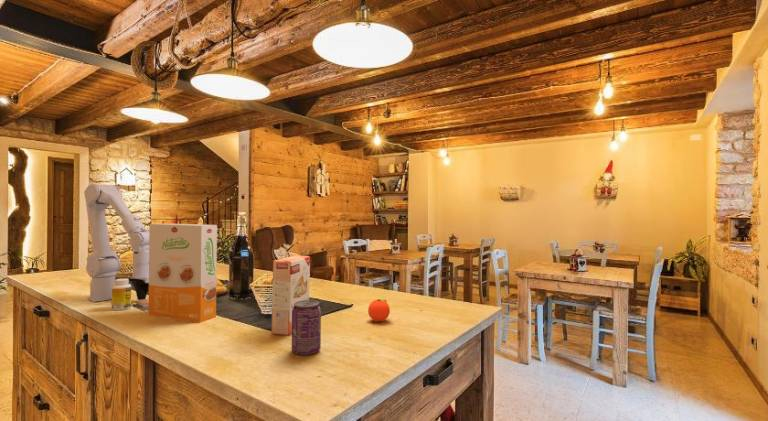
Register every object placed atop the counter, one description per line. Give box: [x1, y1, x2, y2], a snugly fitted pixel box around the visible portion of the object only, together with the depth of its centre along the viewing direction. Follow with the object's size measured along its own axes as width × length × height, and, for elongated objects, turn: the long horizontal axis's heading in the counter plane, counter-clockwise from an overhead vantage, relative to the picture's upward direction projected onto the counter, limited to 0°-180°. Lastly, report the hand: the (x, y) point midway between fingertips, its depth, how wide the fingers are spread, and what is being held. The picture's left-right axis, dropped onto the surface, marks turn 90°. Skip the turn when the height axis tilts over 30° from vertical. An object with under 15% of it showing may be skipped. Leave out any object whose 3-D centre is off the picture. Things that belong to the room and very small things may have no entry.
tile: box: [136, 298, 149, 308], centre depth 136 cm, size 2×6×6 cm
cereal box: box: [148, 223, 218, 323], centre depth 123 cm, size 22×6×30 cm, turn 69°
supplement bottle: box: [111, 278, 132, 311], centre depth 131 cm, size 6×6×10 cm
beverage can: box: [291, 299, 322, 356], centre depth 94 cm, size 7×7×12 cm
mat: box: [131, 303, 149, 311], centre depth 136 cm, size 11×9×1 cm
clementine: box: [367, 298, 391, 323], centre depth 120 cm, size 8×7×7 cm
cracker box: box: [271, 255, 311, 336], centre depth 112 cm, size 14×6×21 cm, turn 168°
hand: (141, 299), depth 141 cm, fingers closed
